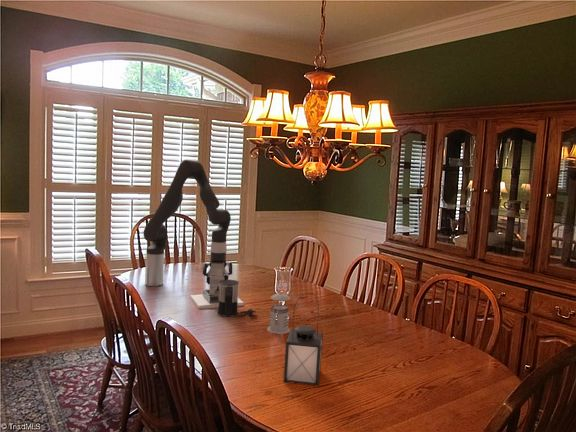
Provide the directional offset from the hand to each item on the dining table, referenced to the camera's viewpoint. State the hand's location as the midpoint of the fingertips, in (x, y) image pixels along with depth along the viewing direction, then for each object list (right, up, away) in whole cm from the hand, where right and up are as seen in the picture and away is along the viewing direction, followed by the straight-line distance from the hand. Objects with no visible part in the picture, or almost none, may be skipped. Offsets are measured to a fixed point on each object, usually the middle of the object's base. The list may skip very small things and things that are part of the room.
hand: (217, 283), depth 229 cm
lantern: (+39, -20, -76) cm, 88 cm away
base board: (0, -9, +1) cm, 9 cm away
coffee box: (0, -5, +1) cm, 5 cm away
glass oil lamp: (+31, -15, -34) cm, 48 cm away
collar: (0, -8, +1) cm, 8 cm away
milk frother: (+11, -12, -17) cm, 23 cm away
